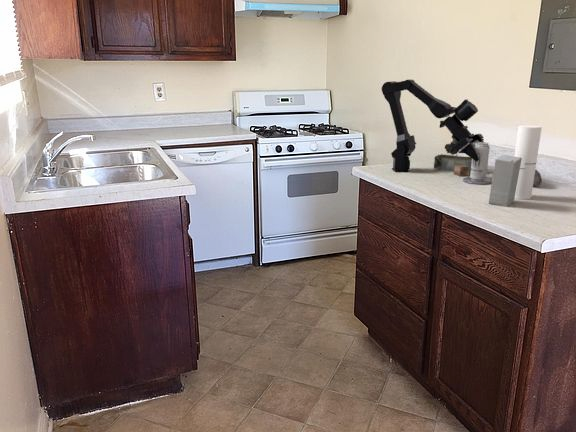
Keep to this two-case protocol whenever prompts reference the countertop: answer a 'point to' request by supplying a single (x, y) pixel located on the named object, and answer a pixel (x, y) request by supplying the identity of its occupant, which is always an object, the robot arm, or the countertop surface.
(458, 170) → the walnut block
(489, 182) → the coaster
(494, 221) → the countertop surface
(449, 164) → the beverage carton
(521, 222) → the countertop surface
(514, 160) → the skincare box
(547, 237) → the countertop surface
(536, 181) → the perforated stone tool
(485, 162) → the energy drink can
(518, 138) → the cylindrical container
